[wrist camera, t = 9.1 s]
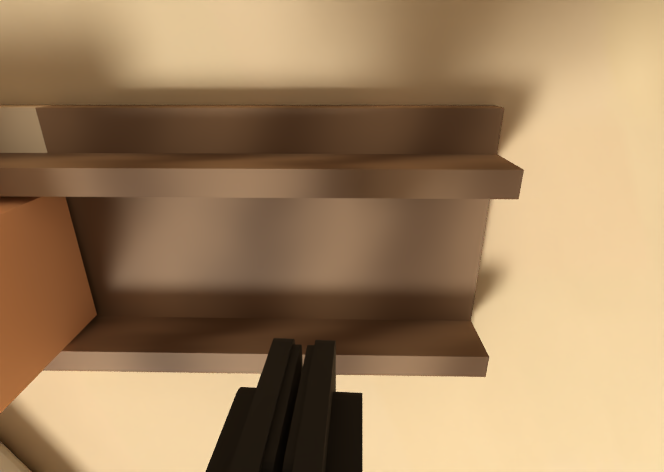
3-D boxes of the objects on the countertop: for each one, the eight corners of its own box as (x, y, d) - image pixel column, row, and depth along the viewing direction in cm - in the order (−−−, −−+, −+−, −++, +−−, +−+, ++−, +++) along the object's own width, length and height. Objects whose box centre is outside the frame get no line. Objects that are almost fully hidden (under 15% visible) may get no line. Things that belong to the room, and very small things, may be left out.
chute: (494, 105, 16) (533, 116, 13) (457, 354, 21) (479, 407, 17) (-132, 105, 16) (-247, 115, 13) (-29, 347, 21) (-95, 399, 18)
